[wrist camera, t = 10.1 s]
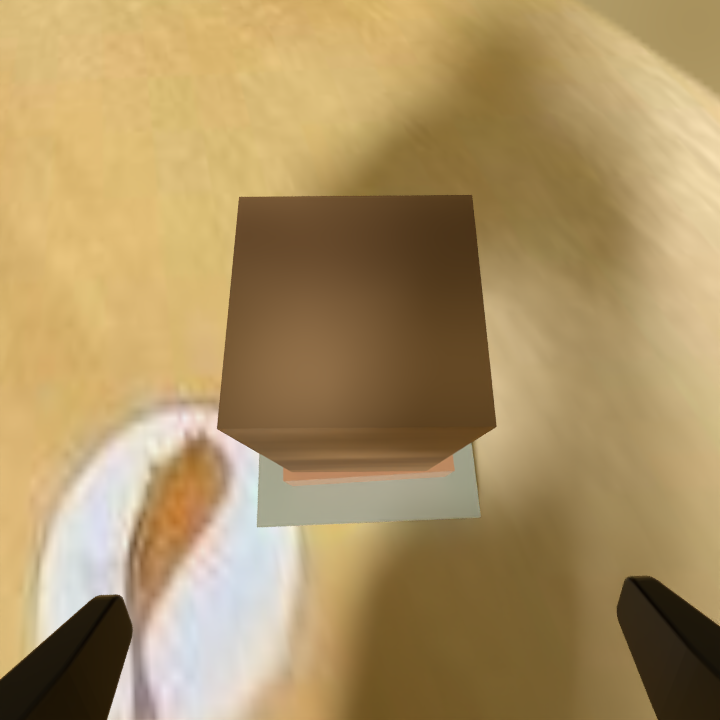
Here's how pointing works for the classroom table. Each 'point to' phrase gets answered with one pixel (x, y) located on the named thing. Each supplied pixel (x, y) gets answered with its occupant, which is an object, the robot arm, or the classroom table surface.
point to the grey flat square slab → (368, 497)
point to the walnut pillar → (356, 332)
